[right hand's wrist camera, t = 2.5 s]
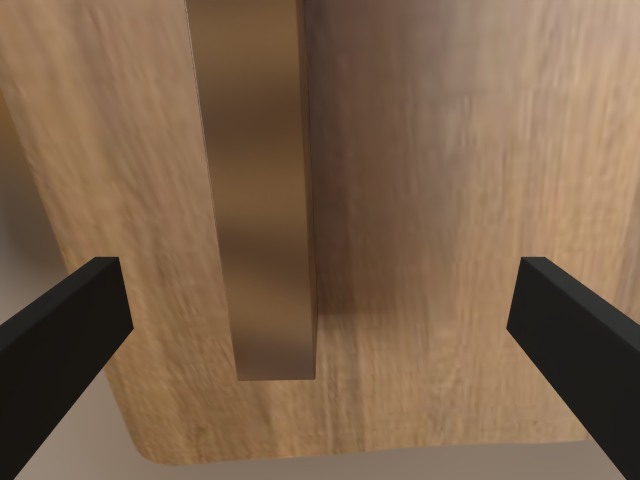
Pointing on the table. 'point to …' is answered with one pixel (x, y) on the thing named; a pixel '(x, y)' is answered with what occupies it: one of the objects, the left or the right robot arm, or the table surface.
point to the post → (260, 177)
